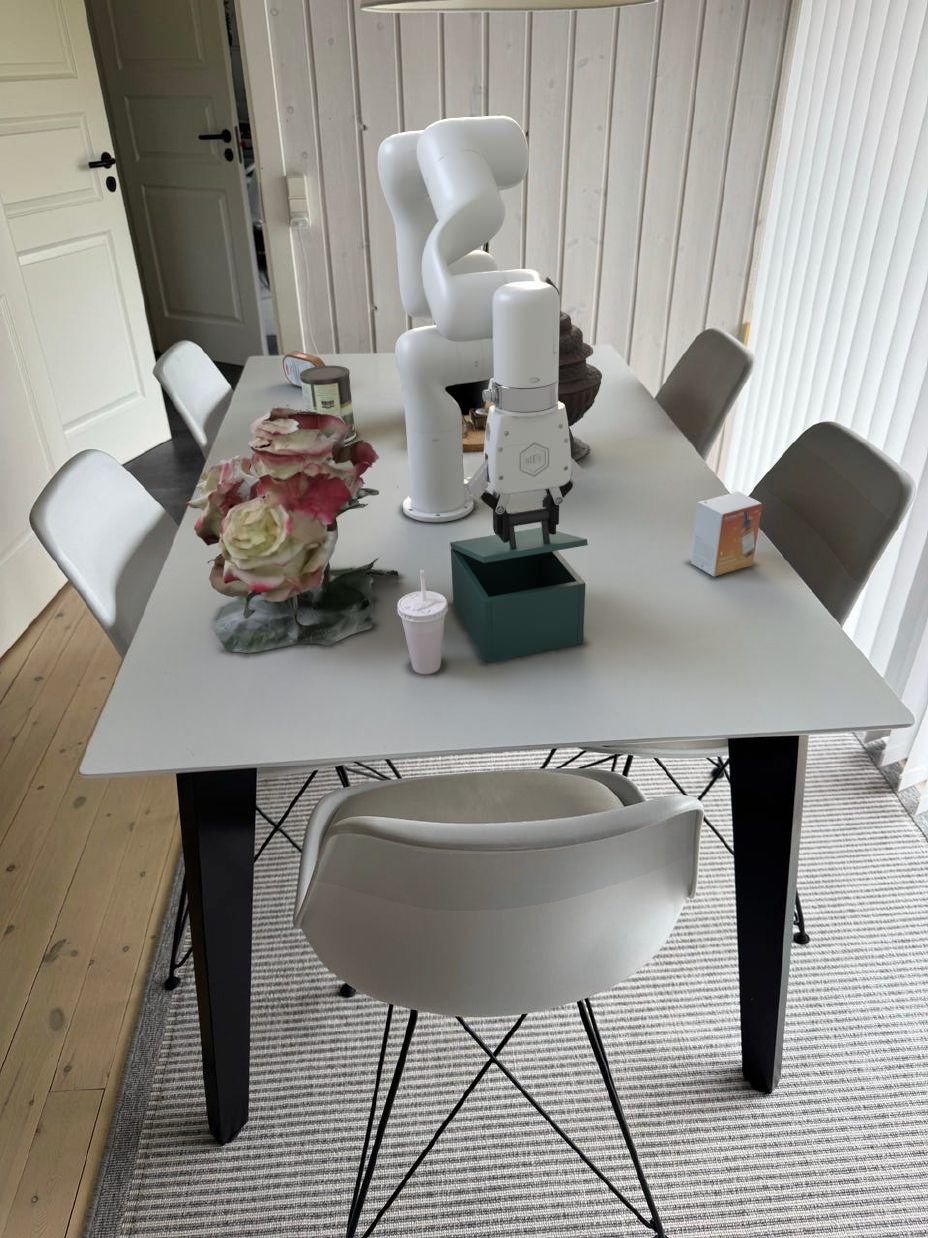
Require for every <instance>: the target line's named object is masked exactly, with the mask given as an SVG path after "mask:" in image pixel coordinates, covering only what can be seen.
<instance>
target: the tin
mask: <svg viewBox="0 0 928 1238" xmlns="http://www.w3.org/2000/svg"><path fill="white" fill-rule="evenodd" d="M318 366H327V364H325V362H324V361H323V359H322V358H321V357H319V356H317V355H313V354H309V353H305V352H302V351H299V350H293V351H292V352H289V353H287V354H285V355H284V357H283V359H282V368H283V372H284V376H285V378H286V379H287V380H288V383H290V384H291V385H293V386H295V387H298V388H301V389H302V385H301V379H300V373H301V372H302V371H304V370H306V369H309V368H313V367H318Z"/></svg>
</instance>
